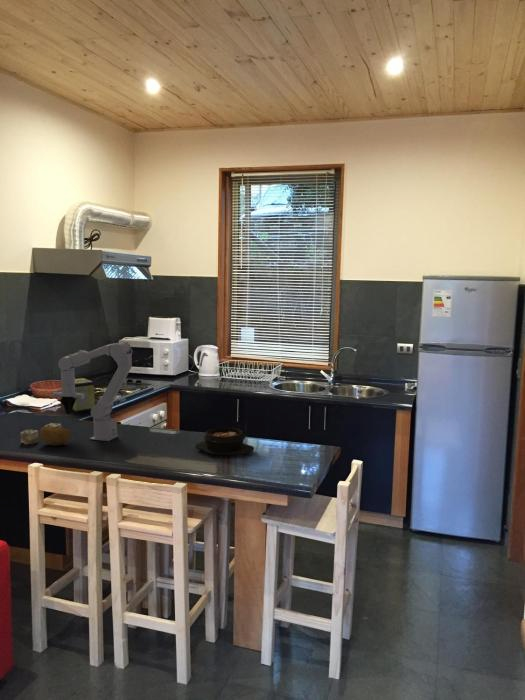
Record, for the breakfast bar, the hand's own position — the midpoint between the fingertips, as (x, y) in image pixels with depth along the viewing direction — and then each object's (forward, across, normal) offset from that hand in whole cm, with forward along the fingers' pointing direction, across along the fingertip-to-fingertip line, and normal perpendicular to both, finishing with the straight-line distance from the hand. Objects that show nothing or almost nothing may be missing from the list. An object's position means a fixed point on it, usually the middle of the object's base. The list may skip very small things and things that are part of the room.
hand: (68, 413), depth 252 cm
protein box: (+11, +24, -47) cm, 54 cm away
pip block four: (+11, +11, +13) cm, 20 cm away
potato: (+11, -2, +13) cm, 17 cm away
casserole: (+10, -73, +2) cm, 74 cm away
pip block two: (+11, +8, +1) cm, 13 cm away
